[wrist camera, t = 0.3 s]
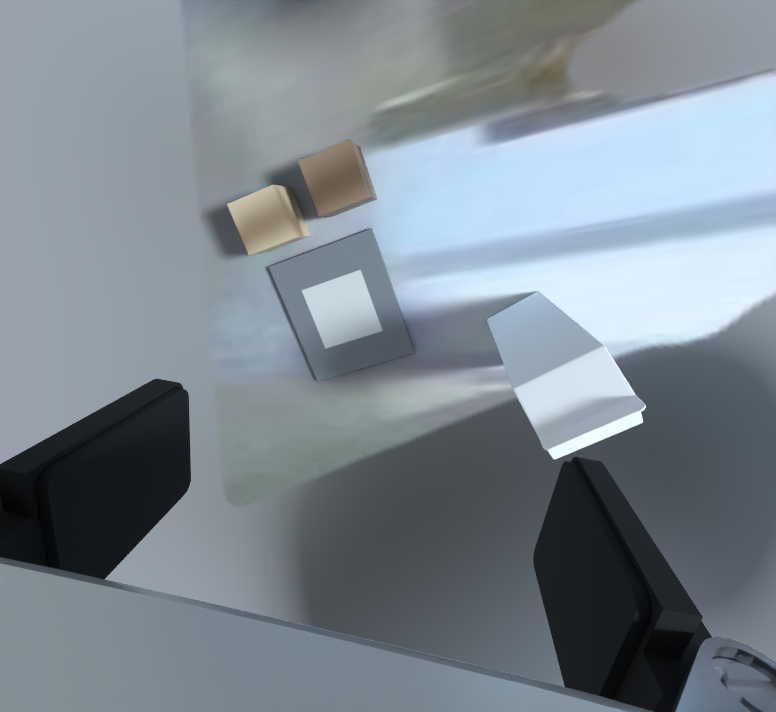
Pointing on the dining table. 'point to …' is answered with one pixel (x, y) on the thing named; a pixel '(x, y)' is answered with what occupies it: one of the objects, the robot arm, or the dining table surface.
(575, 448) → the milk
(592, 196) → the dining table surface
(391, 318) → the mat
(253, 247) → the oak block
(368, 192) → the walnut block
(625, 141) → the dining table surface
